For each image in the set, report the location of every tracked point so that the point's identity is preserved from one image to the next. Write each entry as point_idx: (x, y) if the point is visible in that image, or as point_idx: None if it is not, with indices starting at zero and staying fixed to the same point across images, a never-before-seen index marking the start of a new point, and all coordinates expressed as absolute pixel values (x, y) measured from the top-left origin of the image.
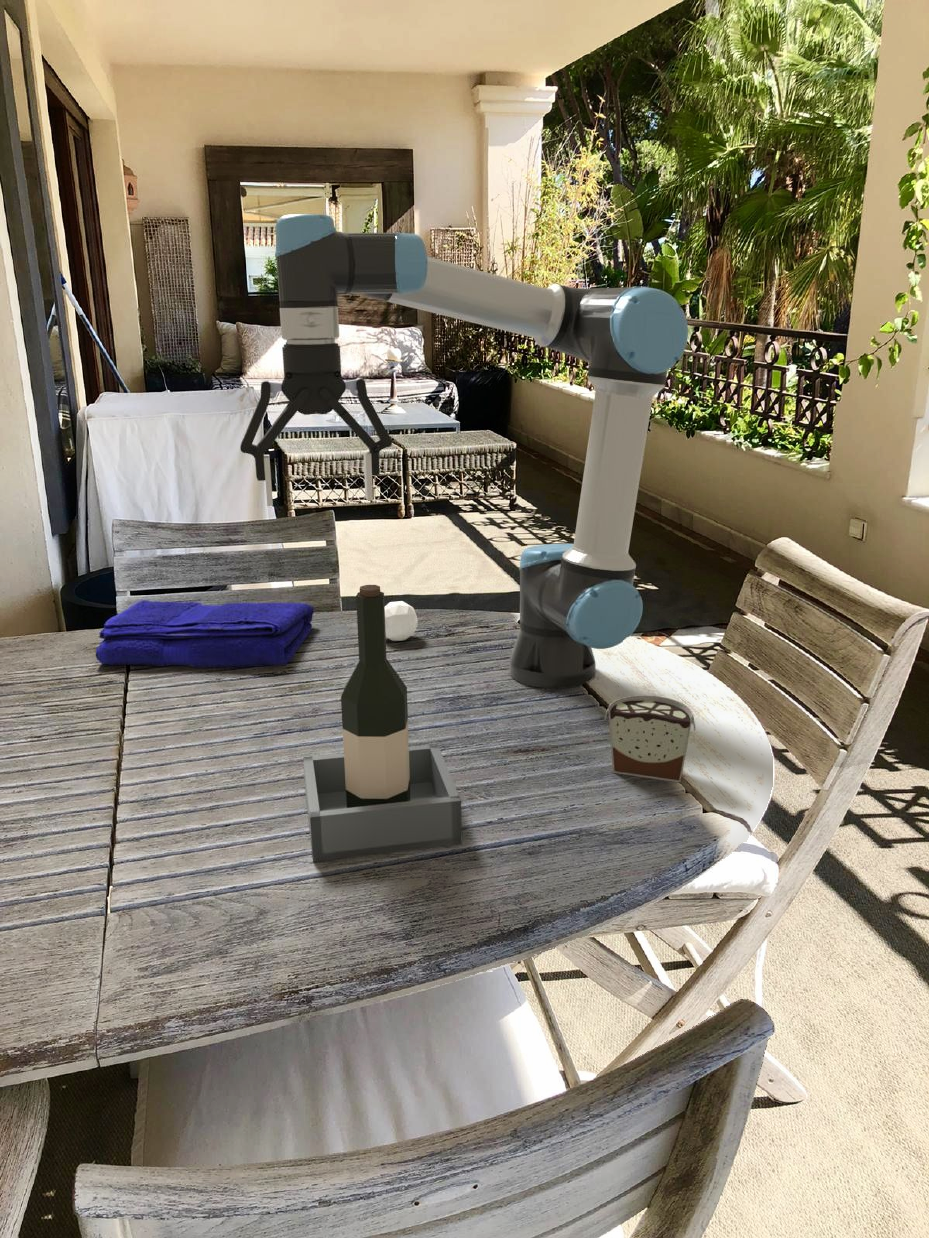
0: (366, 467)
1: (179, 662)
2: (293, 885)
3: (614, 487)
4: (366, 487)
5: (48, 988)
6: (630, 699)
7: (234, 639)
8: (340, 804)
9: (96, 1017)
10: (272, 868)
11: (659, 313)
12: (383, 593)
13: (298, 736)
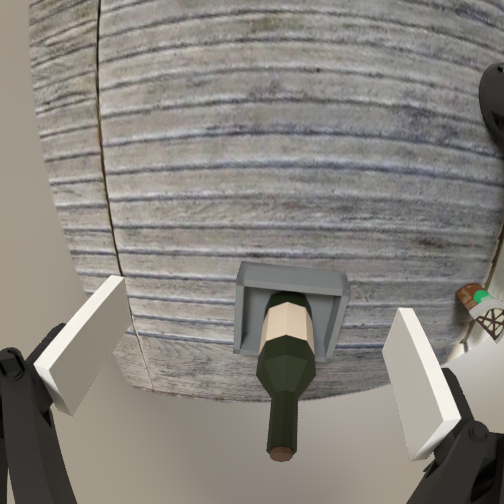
0: (402, 423)
1: None
2: (225, 347)
3: None
4: (393, 365)
5: (130, 366)
6: (494, 306)
7: None
8: (263, 290)
9: (151, 384)
10: (214, 330)
11: None
12: (295, 452)
13: (248, 145)
